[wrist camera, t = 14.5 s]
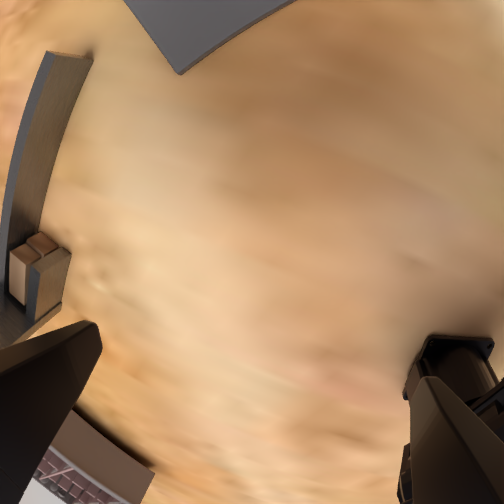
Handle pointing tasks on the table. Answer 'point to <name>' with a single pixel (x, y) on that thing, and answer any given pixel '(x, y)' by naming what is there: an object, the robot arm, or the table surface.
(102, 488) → the organizer tray
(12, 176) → the board rack
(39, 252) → the block
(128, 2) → the rubber mat
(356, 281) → the table surface
